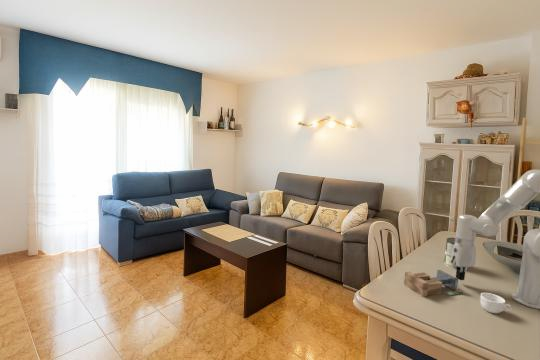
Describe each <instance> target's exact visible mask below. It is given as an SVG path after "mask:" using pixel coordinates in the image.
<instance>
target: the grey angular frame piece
mask: <svg viewBox="0 0 540 360" xmlns="http://www.w3.org/2000/svg"><path fill="white" fill-rule="evenodd" d="M436 271H437V272H436V276H434V277H430V278H428V280H433V279H436V280H438V281H440V282H442V286H443V285H445V286H446V287H448V288H450V289H451V290H454V291H459V292H462V290H461V289H459V287H458V286H459V285H458V284H459V279H457V278H456V276H455V277H454V276H453V275H451V274H449V273H447V272H445V271H443V270H441V269H437V270H436Z"/></svg>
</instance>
